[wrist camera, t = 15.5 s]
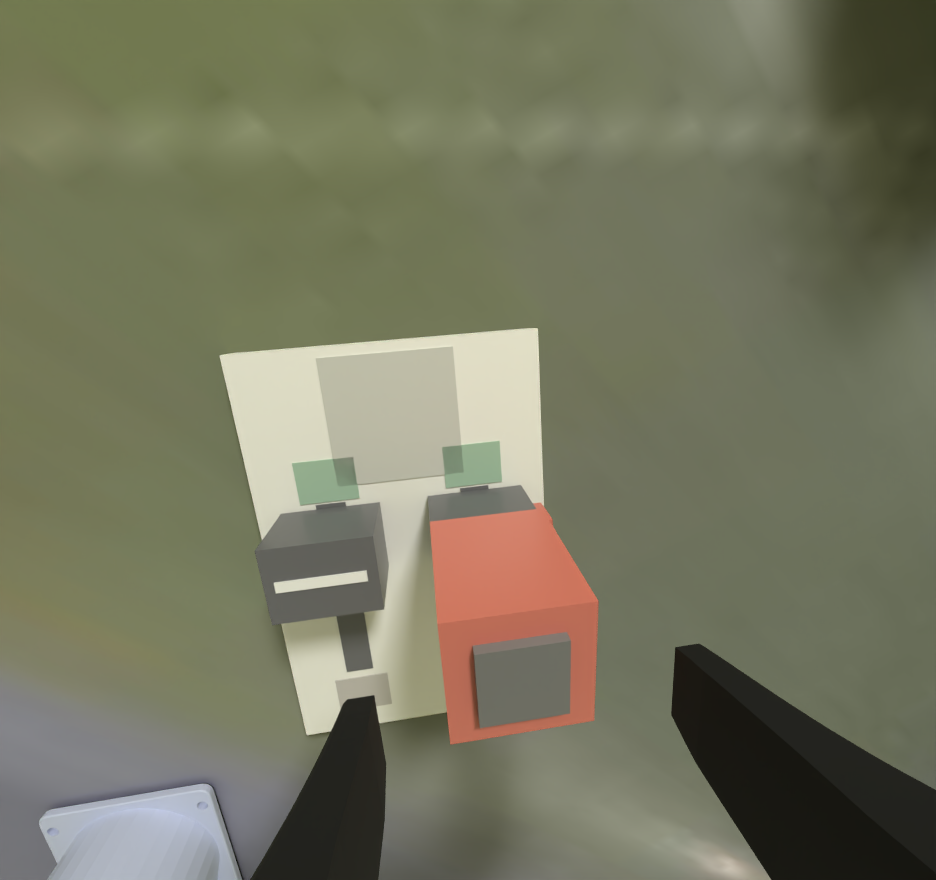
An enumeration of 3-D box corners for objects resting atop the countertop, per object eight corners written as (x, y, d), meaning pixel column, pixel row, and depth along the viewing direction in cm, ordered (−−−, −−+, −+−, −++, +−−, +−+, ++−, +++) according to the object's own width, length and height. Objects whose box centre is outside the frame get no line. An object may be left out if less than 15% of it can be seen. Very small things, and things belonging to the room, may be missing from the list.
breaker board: (543, 676, 23) (550, 696, 22) (312, 713, 22) (306, 736, 21) (529, 327, 18) (538, 328, 17) (232, 353, 17) (219, 355, 16)
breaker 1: (388, 565, 19) (383, 610, 16) (294, 578, 18) (271, 626, 16) (379, 502, 18) (372, 536, 15) (280, 513, 18) (253, 552, 15)
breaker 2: (537, 545, 19) (558, 585, 16) (434, 559, 19) (438, 602, 16) (534, 483, 19) (556, 513, 16) (427, 496, 18) (430, 529, 15)
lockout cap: (542, 601, 17) (598, 730, 12) (439, 615, 16) (451, 755, 11) (541, 508, 15) (603, 609, 10) (429, 521, 15) (437, 633, 10)
